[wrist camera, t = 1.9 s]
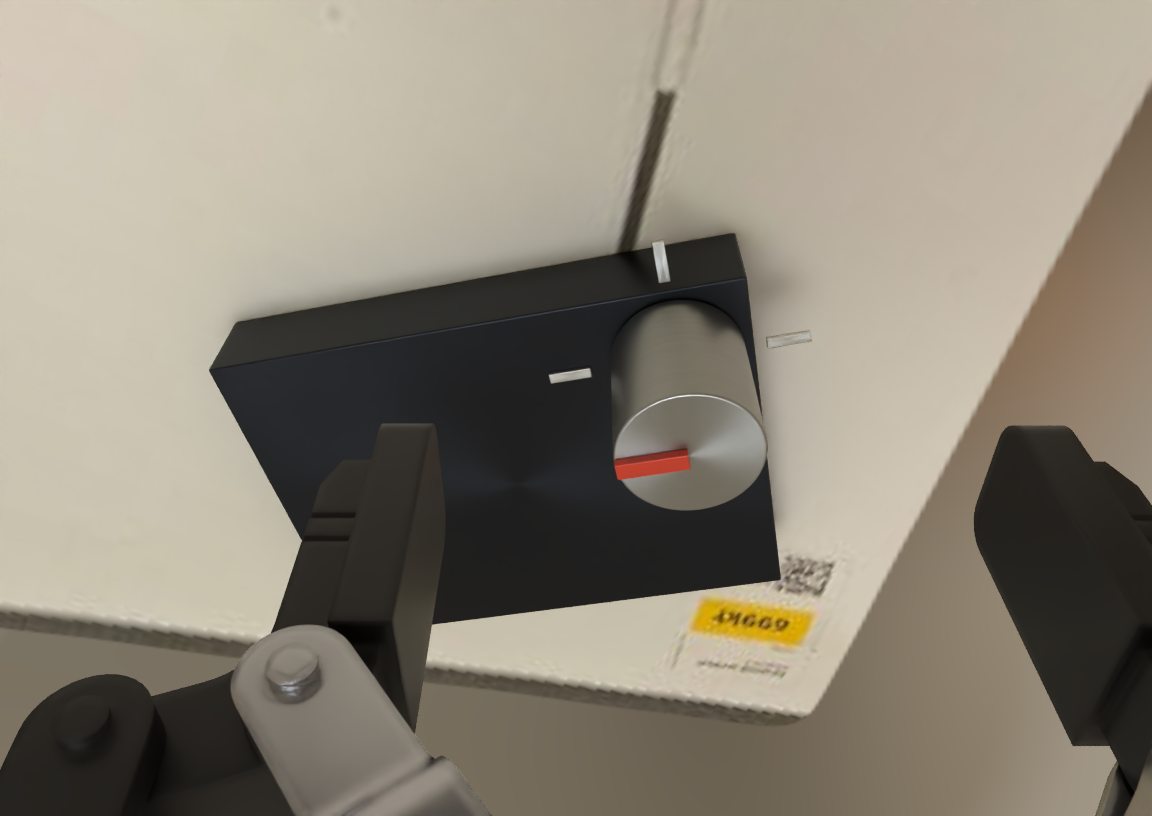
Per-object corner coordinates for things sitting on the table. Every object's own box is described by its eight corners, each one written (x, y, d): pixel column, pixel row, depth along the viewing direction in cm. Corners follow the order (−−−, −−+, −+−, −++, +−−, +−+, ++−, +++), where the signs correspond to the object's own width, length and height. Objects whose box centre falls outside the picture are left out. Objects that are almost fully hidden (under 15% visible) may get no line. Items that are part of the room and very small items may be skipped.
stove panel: (785, 172, 30) (803, 216, 27) (813, 521, 39) (828, 578, 37) (213, 279, 33) (181, 328, 30) (366, 581, 42) (352, 638, 39)
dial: (738, 287, 29) (762, 388, 25) (751, 398, 32) (775, 507, 27) (599, 311, 30) (599, 413, 25) (623, 418, 32) (628, 527, 28)
